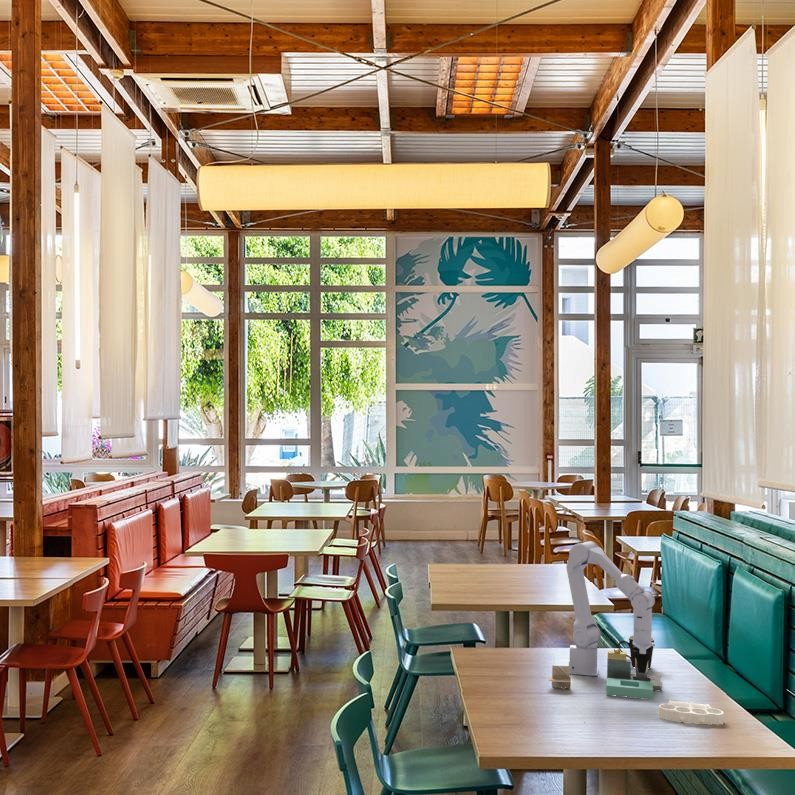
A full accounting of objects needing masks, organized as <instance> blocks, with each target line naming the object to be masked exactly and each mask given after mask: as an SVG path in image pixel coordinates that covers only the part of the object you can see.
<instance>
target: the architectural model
mask: <svg viewBox="0 0 795 795" xmlns="http://www.w3.org/2000/svg"><path fill="white" fill-rule="evenodd" d="M547 678H548V681H549V682H551V688H552V687H562V688H561V689H563V690H566V689H569V688H570V689H572V683H571V682H572V678H571V674H570V666H569V665H552V666H551V676H548V677H547ZM565 687H566V688H565ZM570 689H569V690H570Z"/></svg>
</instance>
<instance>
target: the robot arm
mask: <svg viewBox="0 0 795 795" xmlns="http://www.w3.org/2000/svg"><path fill="white" fill-rule="evenodd" d="M568 553H569V556H568V559H567V563H566V573H567V578H568V584H569V587H570V594H571V600H572V604H573V605H572V606H573V611H574V616H575V620H574V622H573V626H572V628H573V633H572V640H573V643H574V644H570V645H569V661H568V666H570V675H581V676H592V677H599V668H598V642H599V641H600V640H601V637H602V632H601V630H600V628H599V626H598V624H597V621H596V619H595V618H594V617H593V616H592V612H591V606H590V601H589V596H588V591H587V584H586V579H585V578H586V577H585V573H584V569H585V568H586V567H587V566H588V565H589V564H593V565H597V566H599V567H600V568H601V569H602V570H603V571H604V572H606V574H608V575H609V577H611V578H612V579H613V580H615V586H616V587H617V589H618V590H619V591H620V592H621V593H622V594H623V595H624V596H625V597H626V598H627V599H628V601H630V604H631V607H632V608H633V633H632V634H633V635H632V636H633V645H634V646H633V649H634V650H633V652H634V655H635V657H636V660H637V667H638V672H639V673H645V672H646V668H647V663H648V660H649V657H650V656H651V652H649V651H650V650H651V646H653V647H656V643H655V642H654V643H651V637H652V630H653V628H652V627H653V626H652V625H653V619H652V618H653V606H654V605H655V603H656V599H655V596H654V595H653V593H652V592H651V591H650V590H645V589H646V588H645V587H644V586H643V587H642V586H641V585H640V584H639V583H638V582H637V581H636V580H635V579H636V578H635V577H634V576H633V575H630V574H627V573H626V574H625V573H623V572H622V571H621V569H619V568H618V567H617V566H616V564H615V563H614V562H613V561H612V560H611V559H610V557H609V556H607V554H606V553H605V551H604V550H603V548H601V547H600V546H599V545H598V544H597V543H596V542H595V541H591V540H588V541H585V542H581V543H575V544H574V545H573V546H572V547H570V549H569V550H568Z"/></svg>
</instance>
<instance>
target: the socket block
mask: <svg viewBox="0 0 795 795" xmlns="http://www.w3.org/2000/svg"><path fill="white" fill-rule="evenodd" d="M606 665H607V666H606V669H607V670H606V679H607V678H616V679H627V680H638V679H636V678H635V673H631V672H632V664H631V660H630V658H629V659H628V658H626V660H616V659H608V657H607V662H606ZM638 681H649V682H652V685H653V690H660V691H659V692H662V691H663V690H662V681H661V676H660V675H650V674H648V679H647V680H638Z"/></svg>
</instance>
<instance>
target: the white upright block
mask: <svg viewBox="0 0 795 795" xmlns="http://www.w3.org/2000/svg"><path fill="white" fill-rule="evenodd" d="M634 670H635V672H634V674H635V678H636V679H638V680H647V679H648V675H649V669H648V663H647V668H646V672H645V673H639V672H638V667H637V660H636V661H635V668H634Z"/></svg>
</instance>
